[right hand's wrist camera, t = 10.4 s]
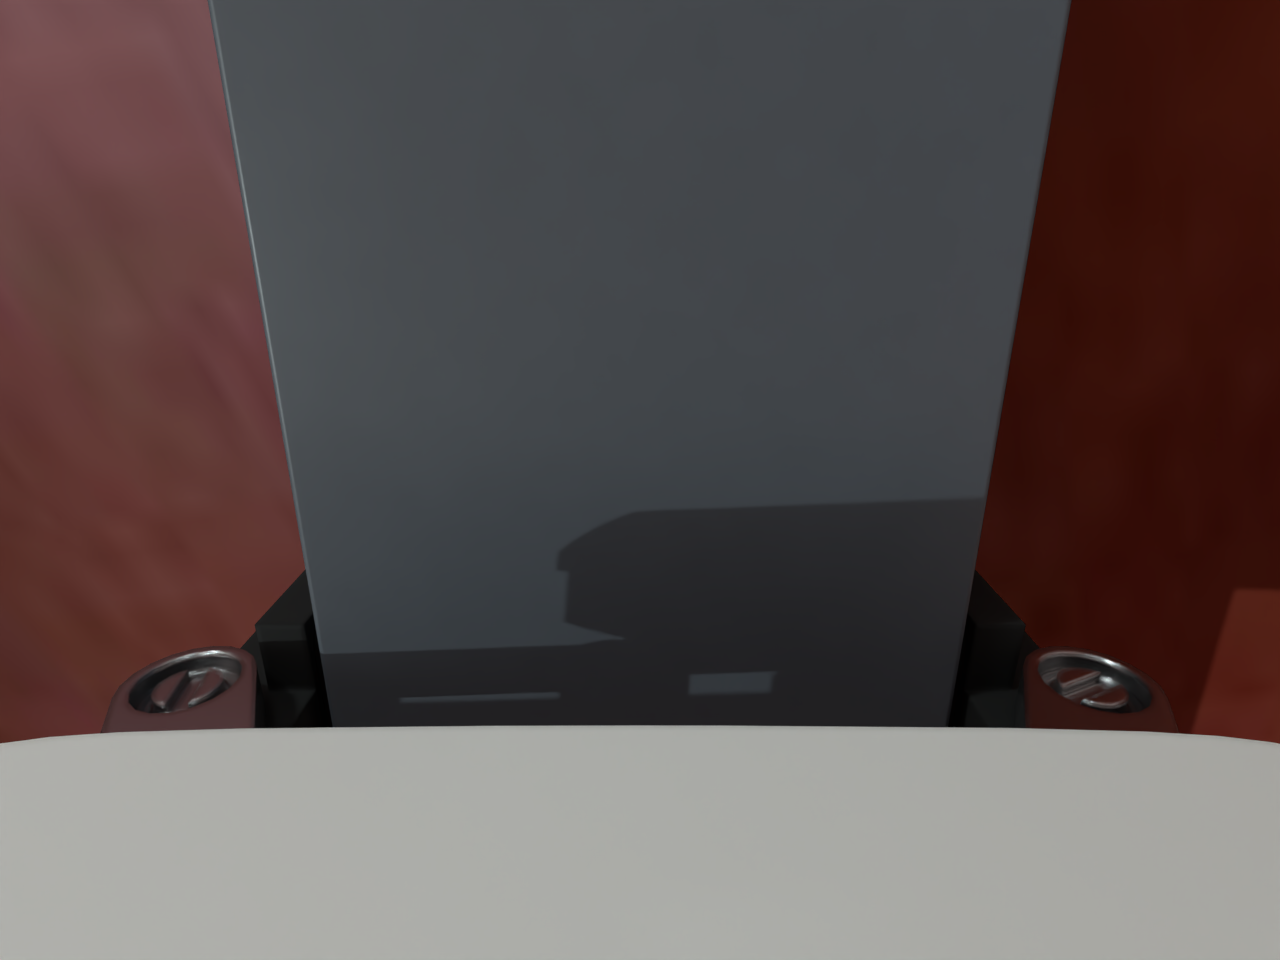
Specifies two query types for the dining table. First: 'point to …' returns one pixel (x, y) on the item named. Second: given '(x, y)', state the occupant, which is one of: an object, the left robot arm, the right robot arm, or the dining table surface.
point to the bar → (639, 342)
